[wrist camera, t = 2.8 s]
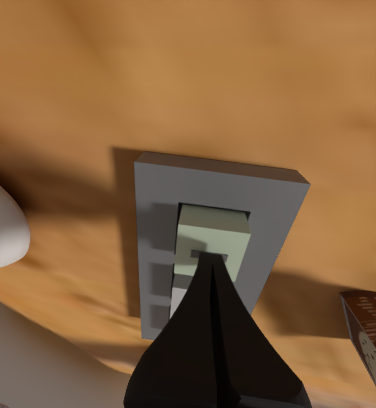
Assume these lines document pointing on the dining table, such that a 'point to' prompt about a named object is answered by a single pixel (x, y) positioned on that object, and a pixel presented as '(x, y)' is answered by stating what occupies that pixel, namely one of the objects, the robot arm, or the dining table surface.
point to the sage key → (210, 238)
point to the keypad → (213, 198)
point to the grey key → (179, 290)
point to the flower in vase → (12, 230)
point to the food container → (362, 325)
